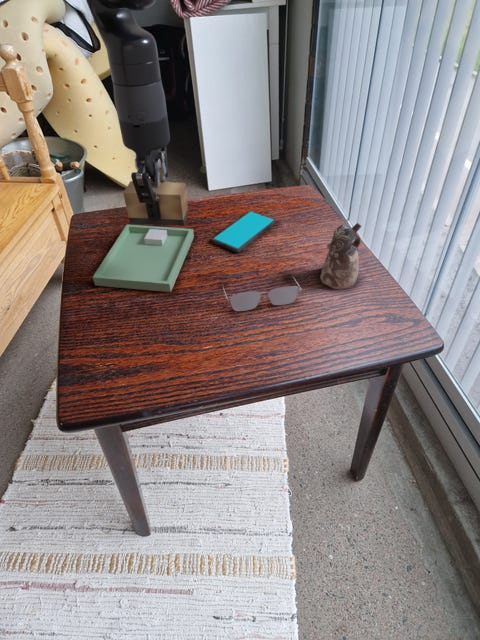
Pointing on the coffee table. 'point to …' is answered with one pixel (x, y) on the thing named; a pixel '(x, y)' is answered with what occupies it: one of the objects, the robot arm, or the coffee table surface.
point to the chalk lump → (155, 237)
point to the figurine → (342, 258)
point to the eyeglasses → (252, 298)
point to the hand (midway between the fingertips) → (158, 211)
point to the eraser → (169, 202)
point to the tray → (144, 260)
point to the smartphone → (243, 231)
